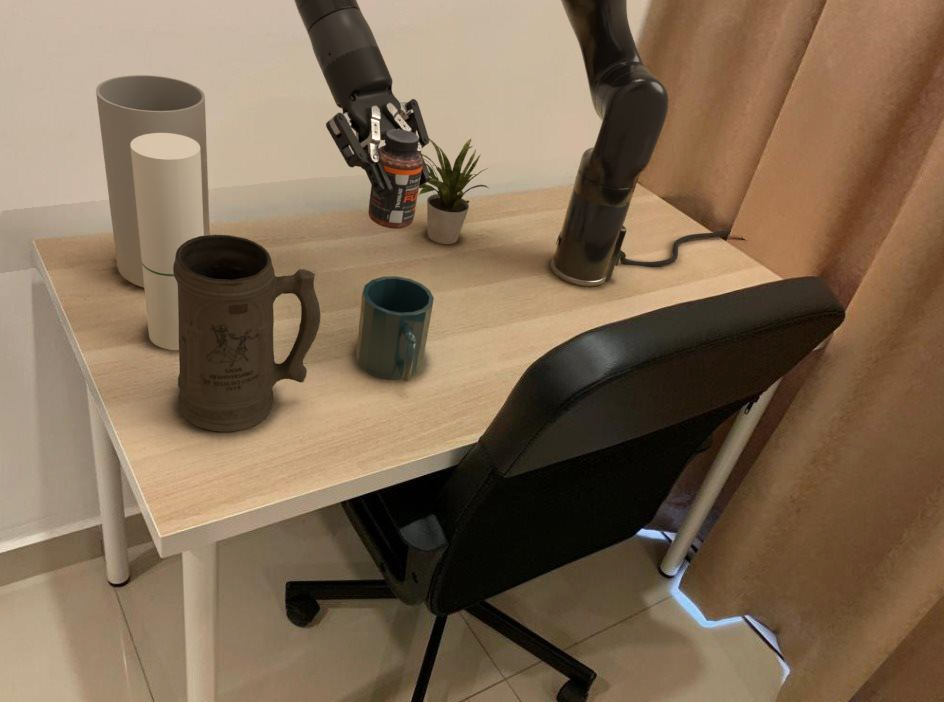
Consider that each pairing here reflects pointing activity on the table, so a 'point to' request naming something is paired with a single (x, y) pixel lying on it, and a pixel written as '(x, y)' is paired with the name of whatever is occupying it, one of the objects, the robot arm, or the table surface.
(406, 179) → the supplement bottle
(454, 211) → the house plant
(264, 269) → the beer stein
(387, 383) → the table surface
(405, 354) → the mug
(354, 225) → the table surface
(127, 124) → the cylinder vase
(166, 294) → the cylindrical container
